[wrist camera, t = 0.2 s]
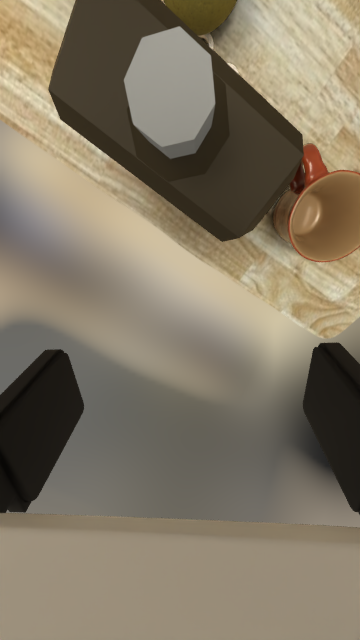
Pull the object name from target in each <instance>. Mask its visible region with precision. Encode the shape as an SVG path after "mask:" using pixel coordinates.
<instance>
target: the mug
mask: <svg viewBox="0 0 360 640" xmlns="http://www.w3.org/2000/svg"><path fill="white" fill-rule="evenodd" d="M303 151H304V156H303V158H302V160H301V163H300V165H299V167H298V170H297V172H296V175H295V177H294V179H293V180H292V181H291V183H290V184H289V187H290V190H288V191H287V192H286V193H284V194H283V195H282V197H281V198H280V199H279V201H278V203H277V205H276V207H275V210H274V214H273V222H274V226H275V229H276V231H277V233H278V234H279V236H280V237H281V238H282V239H283V240H285V241H286V242H288V243H291V244H292V246H293V247H294V249H295V250H296V251H297V252H298V253H299V254H300V255H301V256H303V257H304V258H306V259H308V260H311V261H315V262H330V261H335V260H338V259H341V258H343V257H345V256H347V255H349V254H351V253H352V252H354V251H355V250H356V249H357V248H359V247H360V173H357V172H354V171H349V170H338V171H334V172H331V173H329V172H328V170H327V168H326V166H325V165H324V163H323V161H322V158H321V155H320V153H319V150H318V149H317V147H316V146H315V145H314V144H312V143H307V144H305V145H303ZM303 165H304V168H305V172H304V170H303Z"/></svg>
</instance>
